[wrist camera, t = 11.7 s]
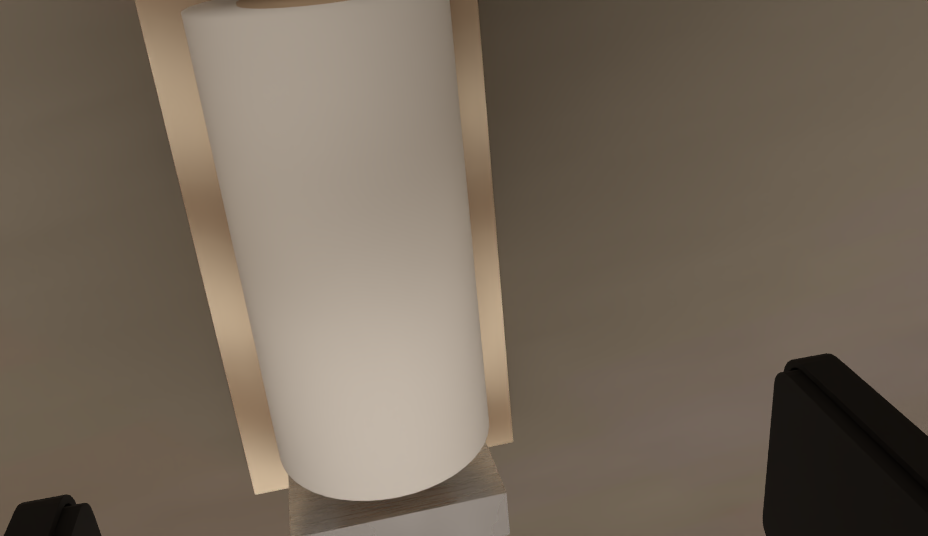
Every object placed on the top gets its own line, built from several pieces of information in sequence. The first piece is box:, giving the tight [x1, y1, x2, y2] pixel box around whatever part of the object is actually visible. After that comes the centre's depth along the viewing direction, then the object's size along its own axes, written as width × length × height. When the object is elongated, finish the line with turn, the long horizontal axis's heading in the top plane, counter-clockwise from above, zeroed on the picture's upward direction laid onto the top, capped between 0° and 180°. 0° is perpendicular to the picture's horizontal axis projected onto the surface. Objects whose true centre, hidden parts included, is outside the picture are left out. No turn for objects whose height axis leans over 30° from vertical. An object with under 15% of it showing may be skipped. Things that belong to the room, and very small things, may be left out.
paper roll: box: [181, 0, 489, 501], centre depth 22 cm, size 12×6×6 cm, turn 6°
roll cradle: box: [135, 0, 513, 536], centre depth 23 cm, size 20×9×7 cm, turn 6°
